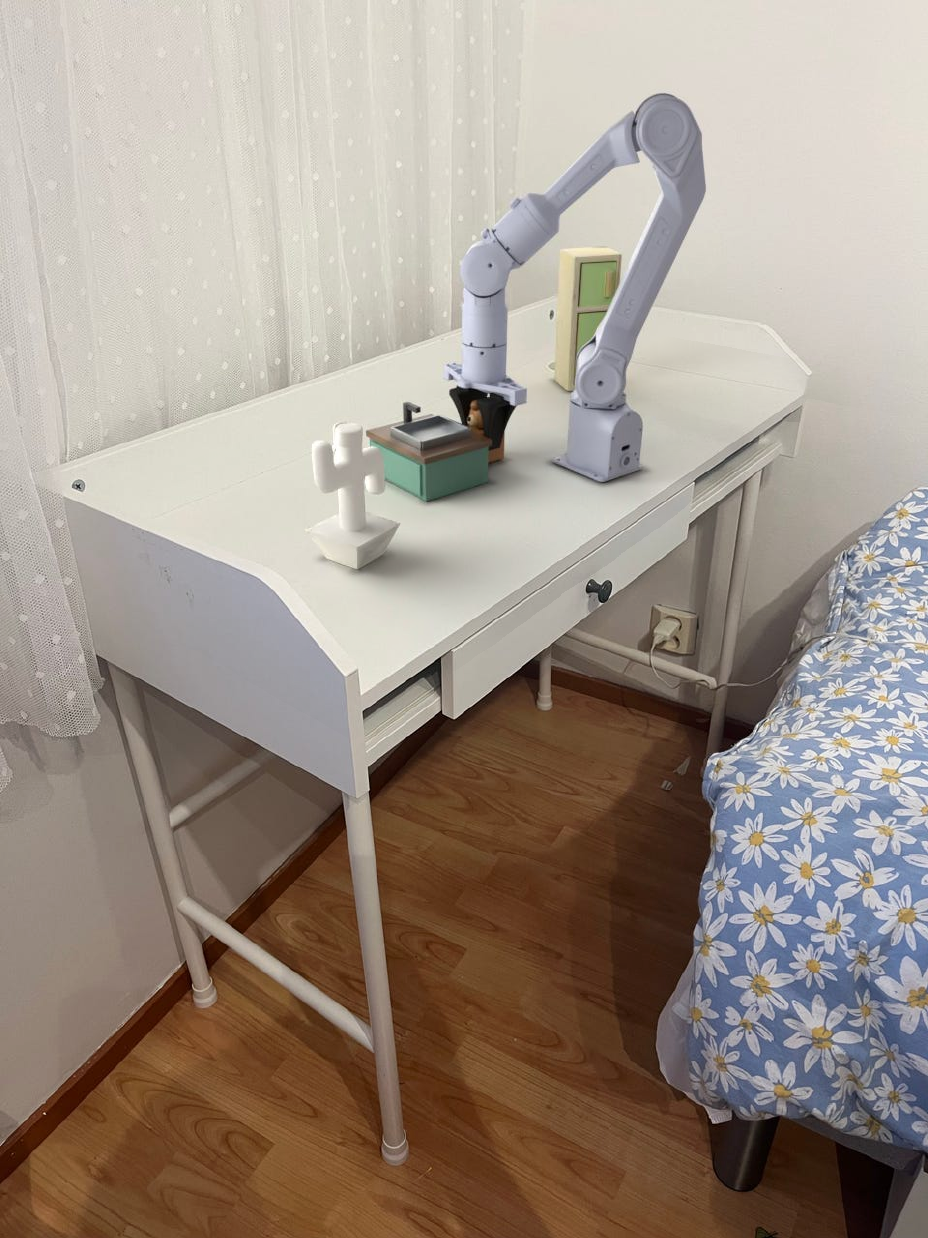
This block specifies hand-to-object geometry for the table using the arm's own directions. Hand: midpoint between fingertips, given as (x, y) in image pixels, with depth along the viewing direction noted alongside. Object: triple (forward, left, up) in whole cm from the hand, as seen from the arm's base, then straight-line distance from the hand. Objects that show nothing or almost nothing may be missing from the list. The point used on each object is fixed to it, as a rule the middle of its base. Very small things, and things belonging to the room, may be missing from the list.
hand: (482, 443), depth 130 cm
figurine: (-14, +29, -2) cm, 33 cm away
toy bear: (0, 0, -2) cm, 2 cm away
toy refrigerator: (+15, -35, -2) cm, 38 cm away
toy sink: (-1, +9, -2) cm, 10 cm away
